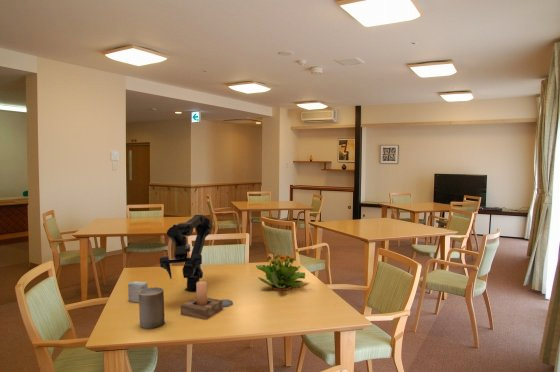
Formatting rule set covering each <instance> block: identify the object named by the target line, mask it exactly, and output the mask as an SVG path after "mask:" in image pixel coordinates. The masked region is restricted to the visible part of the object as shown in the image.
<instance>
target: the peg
mask: <svg viewBox="0 0 560 372" xmlns="http://www.w3.org/2000/svg"><path fill="white" fill-rule="evenodd" d="M196 286H197V291H196V297H197V305H199V306H205V305H207V298H208V281H206V280H200V281H199V282H197V283H196Z"/></svg>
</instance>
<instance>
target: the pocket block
mask: <svg viewBox="0 0 560 372" xmlns="http://www.w3.org/2000/svg"><path fill="white" fill-rule="evenodd" d="M223 309H224V307H223V299H219V298H218V299H217V298H212V297H207V305H205V306H199V305H197V296H196V297H194V298H192V299H190V300H188V301H186V302H184V303H182V304H180V315H182V316H187V317H191V318H197V319H200V320H207V319H208V318H210V317H212V316H214V315H215V314H217V313H219V312H220V311H222V310H223Z"/></svg>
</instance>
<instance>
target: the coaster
mask: <svg viewBox="0 0 560 372" xmlns="http://www.w3.org/2000/svg"><path fill="white" fill-rule="evenodd" d="M222 300H223V308H227V307H231V306H232V305H233V300H231V299H222Z"/></svg>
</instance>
